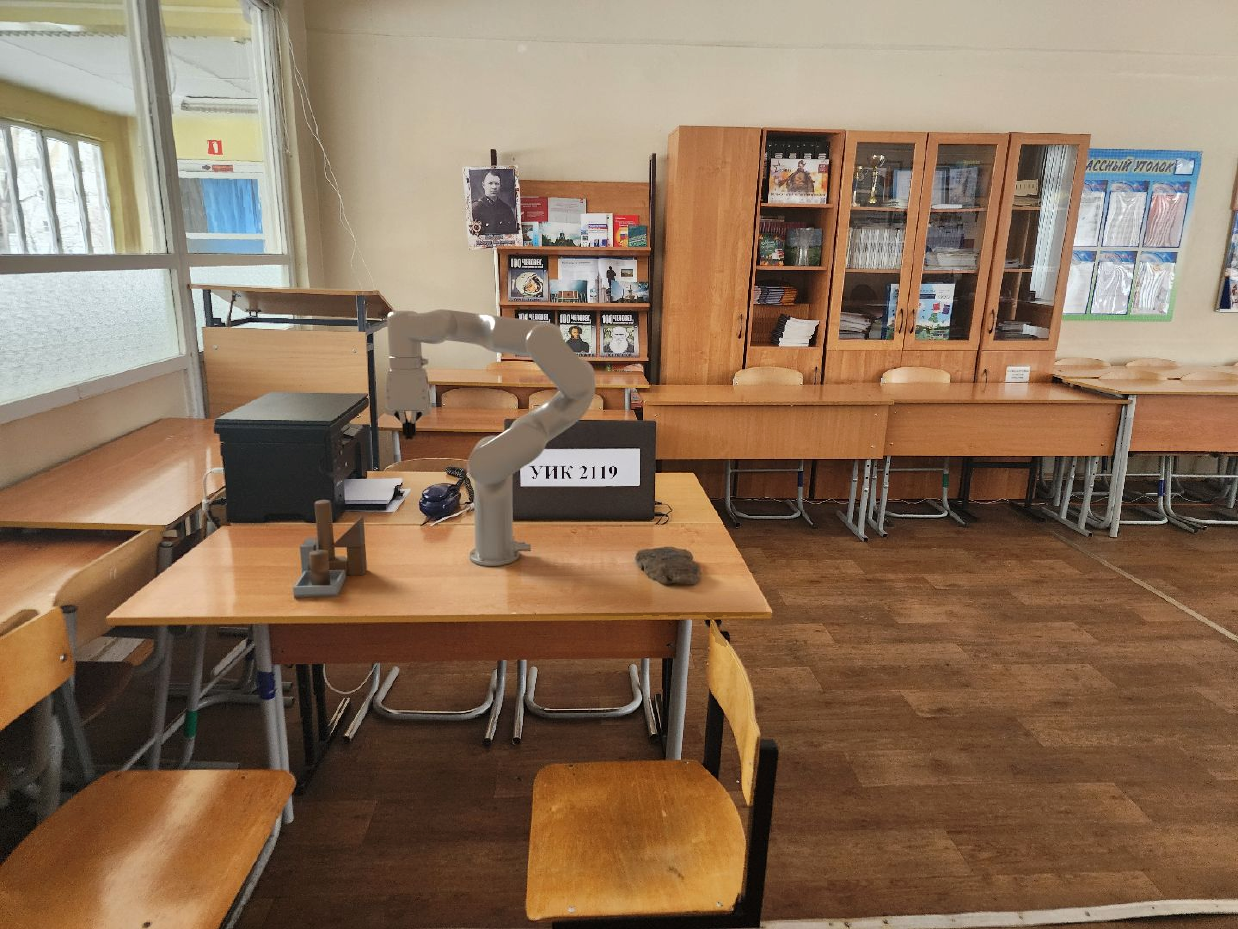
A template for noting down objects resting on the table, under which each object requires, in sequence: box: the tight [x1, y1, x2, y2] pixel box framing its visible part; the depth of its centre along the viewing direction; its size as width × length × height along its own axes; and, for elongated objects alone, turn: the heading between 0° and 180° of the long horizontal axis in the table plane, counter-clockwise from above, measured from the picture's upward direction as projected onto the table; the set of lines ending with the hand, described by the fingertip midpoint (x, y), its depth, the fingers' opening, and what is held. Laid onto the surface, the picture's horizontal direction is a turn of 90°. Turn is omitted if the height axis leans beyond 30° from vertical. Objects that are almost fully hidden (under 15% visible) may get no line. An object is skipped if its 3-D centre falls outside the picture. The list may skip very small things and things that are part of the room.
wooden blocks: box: [314, 499, 368, 576], centre depth 178 cm, size 4×11×18 cm, turn 93°
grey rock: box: [634, 546, 702, 586], centre depth 184 cm, size 14×5×20 cm
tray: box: [292, 570, 347, 599], centre depth 171 cm, size 9×9×2 cm
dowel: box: [309, 550, 330, 586], centre depth 171 cm, size 4×4×8 cm
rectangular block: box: [299, 536, 319, 575], centre depth 179 cm, size 3×6×8 cm, turn 8°
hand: (409, 438), depth 183 cm, fingers closed
